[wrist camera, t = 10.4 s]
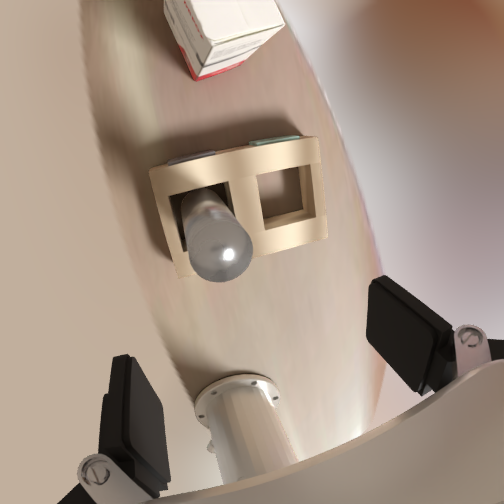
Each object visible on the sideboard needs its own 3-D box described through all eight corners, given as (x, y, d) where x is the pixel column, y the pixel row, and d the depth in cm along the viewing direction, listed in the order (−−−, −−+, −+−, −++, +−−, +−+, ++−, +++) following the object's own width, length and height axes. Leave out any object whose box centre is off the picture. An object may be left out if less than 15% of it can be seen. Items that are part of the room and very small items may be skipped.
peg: (213, 234, 29) (238, 288, 20) (175, 221, 28) (180, 272, 18) (228, 196, 28) (263, 233, 19) (189, 182, 27) (202, 212, 17)
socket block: (303, 132, 28) (317, 133, 25) (314, 228, 32) (327, 237, 30) (149, 164, 25) (147, 168, 23) (177, 265, 30) (178, 278, 27)
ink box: (242, 66, 24) (292, 28, 13) (193, 83, 23) (211, 50, 13) (210, -6, 20) (239, -72, 9) (161, 9, 20) (161, -56, 9)
